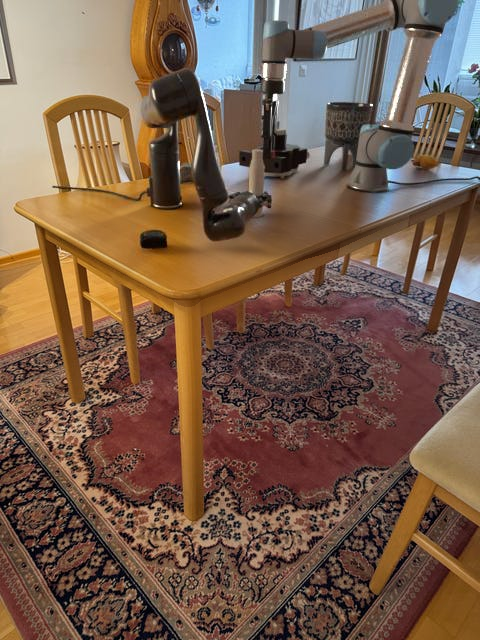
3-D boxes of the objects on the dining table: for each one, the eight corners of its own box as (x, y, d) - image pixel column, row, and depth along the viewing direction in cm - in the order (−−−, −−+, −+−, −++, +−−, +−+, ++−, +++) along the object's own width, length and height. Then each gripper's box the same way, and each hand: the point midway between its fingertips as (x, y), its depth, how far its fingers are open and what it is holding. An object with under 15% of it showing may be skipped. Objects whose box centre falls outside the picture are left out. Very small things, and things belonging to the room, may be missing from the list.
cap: (265, 158, 151) (265, 152, 150) (259, 156, 154) (259, 149, 153) (276, 157, 153) (276, 151, 152) (270, 155, 156) (270, 149, 155)
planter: (313, 167, 208) (319, 103, 195) (331, 160, 222) (338, 101, 209) (353, 173, 199) (362, 107, 185) (369, 166, 213) (379, 104, 199)
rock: (198, 175, 188) (197, 159, 184) (210, 180, 182) (210, 163, 179) (170, 180, 180) (169, 163, 177) (183, 185, 175) (182, 168, 171)
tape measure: (140, 252, 115) (139, 238, 113) (141, 242, 120) (140, 229, 119) (167, 251, 116) (166, 237, 114) (167, 241, 121) (166, 228, 120)
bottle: (246, 216, 143) (247, 150, 133) (250, 212, 147) (252, 148, 137) (259, 217, 142) (262, 151, 132) (263, 213, 145) (266, 149, 136)
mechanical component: (240, 120, 182) (283, 115, 202) (239, 174, 192) (280, 164, 212) (283, 126, 170) (325, 120, 190) (280, 183, 180) (320, 171, 200)
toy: (413, 162, 205) (407, 155, 217) (415, 176, 208) (410, 168, 220) (439, 154, 201) (432, 147, 214) (441, 168, 204) (434, 161, 217)
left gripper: (267, 197, 126) (280, 183, 140) (218, 192, 129) (236, 179, 143) (266, 223, 129) (279, 207, 144) (219, 218, 133) (236, 203, 147)
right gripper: (266, 78, 150) (262, 152, 162) (255, 79, 135) (251, 161, 147) (289, 79, 148) (283, 153, 160) (279, 81, 134) (274, 163, 146)
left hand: (257, 193), depth 143 cm, fingers closed on bottle, 4 cm apart
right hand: (268, 157), depth 154 cm, fingers closed on cap, 4 cm apart
